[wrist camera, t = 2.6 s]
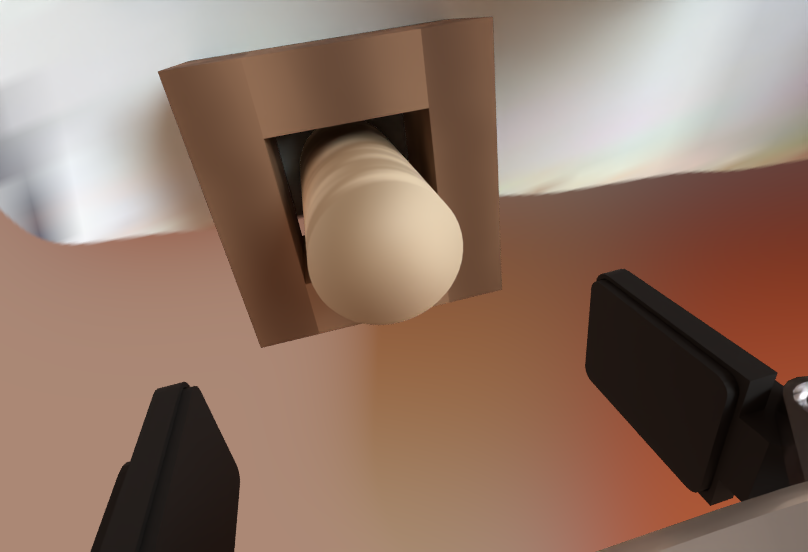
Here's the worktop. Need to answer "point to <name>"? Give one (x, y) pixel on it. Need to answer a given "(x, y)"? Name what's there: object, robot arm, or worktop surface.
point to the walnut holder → (328, 106)
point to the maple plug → (374, 227)
